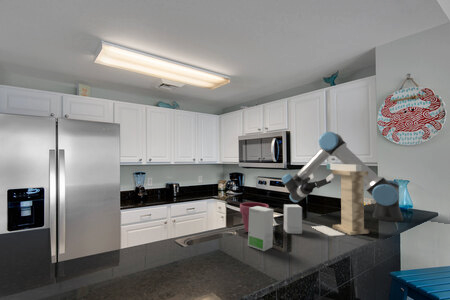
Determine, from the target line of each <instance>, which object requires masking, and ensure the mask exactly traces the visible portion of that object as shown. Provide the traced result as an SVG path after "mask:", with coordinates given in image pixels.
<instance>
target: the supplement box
mask: <svg viewBox="0 0 450 300" xmlns="http://www.w3.org/2000/svg"><path fill="white" fill-rule="evenodd" d="M283 230H284V231H285V232H286V234H295V235H296V234H298V235H299V234H302V233H303V207H302V206H300V205H299V204H283Z"/></svg>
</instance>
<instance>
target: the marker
mask: <svg viewBox="0 0 450 300" xmlns="http://www.w3.org/2000/svg"><path fill="white" fill-rule="evenodd" d="M326 170H331V171H332V170H343V171H361V165H353V164H343V163H326Z"/></svg>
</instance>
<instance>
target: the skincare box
mask: <svg viewBox="0 0 450 300" xmlns="http://www.w3.org/2000/svg"><path fill="white" fill-rule="evenodd" d="M274 211H275V209H273V208H266V207H260V206H255V207H251V208H249V228H248V233H247V234H248V235H247V246H248V247H250V248H254V249H255V250H260V251H262V252H265V251H268V250H270V249H272V248H273V241H274V239H273V236H274V213H275V212H274Z"/></svg>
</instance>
